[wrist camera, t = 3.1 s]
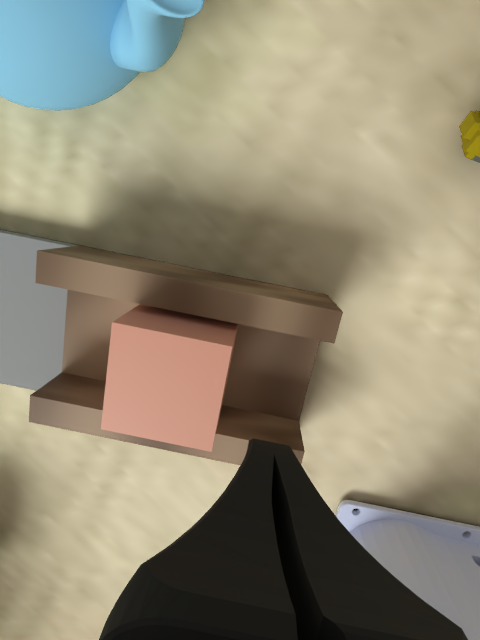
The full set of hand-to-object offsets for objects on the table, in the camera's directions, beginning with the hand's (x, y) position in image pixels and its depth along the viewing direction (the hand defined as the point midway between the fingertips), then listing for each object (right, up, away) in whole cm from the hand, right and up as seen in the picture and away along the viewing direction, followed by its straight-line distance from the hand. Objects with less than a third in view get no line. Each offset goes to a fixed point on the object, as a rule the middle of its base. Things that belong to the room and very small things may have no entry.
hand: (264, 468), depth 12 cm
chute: (-4, +3, +10) cm, 11 cm away
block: (-4, +3, +8) cm, 10 cm away
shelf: (-13, +5, +10) cm, 17 cm away
